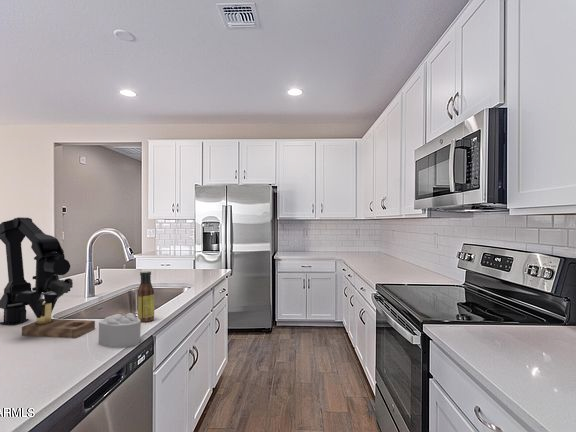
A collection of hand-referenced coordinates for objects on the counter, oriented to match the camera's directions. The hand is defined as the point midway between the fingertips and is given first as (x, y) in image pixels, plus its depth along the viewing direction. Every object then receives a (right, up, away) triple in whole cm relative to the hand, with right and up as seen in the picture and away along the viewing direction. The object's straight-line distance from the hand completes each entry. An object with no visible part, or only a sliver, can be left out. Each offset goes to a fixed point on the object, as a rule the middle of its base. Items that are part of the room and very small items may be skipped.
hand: (44, 315), depth 123 cm
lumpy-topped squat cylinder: (+32, -6, -9) cm, 34 cm away
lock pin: (0, -6, 0) cm, 6 cm away
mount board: (+6, -6, -1) cm, 8 cm away
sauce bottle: (+30, -7, +16) cm, 35 cm away
